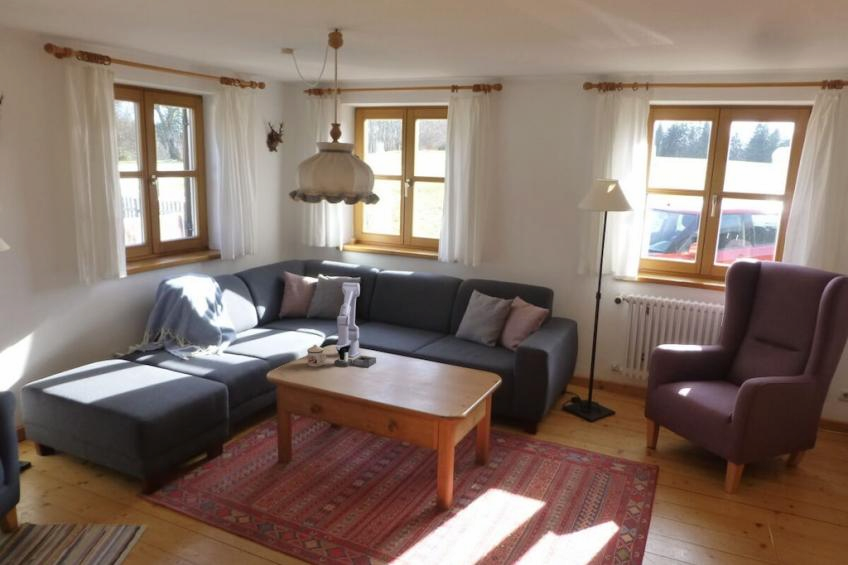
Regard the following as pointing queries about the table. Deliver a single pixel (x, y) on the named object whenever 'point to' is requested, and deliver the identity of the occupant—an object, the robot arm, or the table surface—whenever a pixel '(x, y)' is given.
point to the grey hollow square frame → (343, 363)
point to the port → (364, 361)
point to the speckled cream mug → (315, 356)
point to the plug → (345, 357)
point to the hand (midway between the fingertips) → (343, 358)
